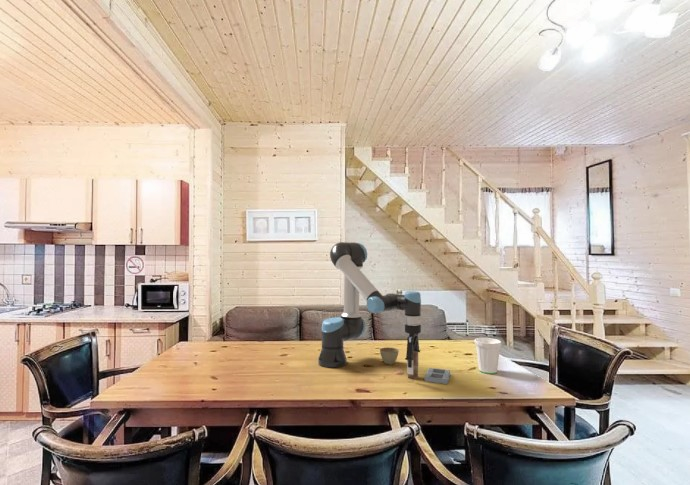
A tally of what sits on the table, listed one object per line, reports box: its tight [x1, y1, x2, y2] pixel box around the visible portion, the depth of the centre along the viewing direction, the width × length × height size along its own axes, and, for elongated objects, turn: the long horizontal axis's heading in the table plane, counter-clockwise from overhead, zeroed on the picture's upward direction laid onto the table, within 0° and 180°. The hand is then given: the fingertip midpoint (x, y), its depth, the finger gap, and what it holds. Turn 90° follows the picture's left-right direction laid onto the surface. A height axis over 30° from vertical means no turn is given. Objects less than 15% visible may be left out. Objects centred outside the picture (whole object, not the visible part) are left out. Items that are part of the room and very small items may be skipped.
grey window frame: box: [424, 367, 451, 385], centre depth 169 cm, size 10×14×2 cm
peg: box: [407, 351, 419, 380], centre depth 170 cm, size 4×4×12 cm
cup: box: [474, 337, 502, 375], centre depth 179 cm, size 12×12×15 cm
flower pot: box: [379, 346, 400, 365], centre depth 191 cm, size 10×10×7 cm
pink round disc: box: [393, 370, 404, 375], centre depth 176 cm, size 5×5×1 cm
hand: (413, 369), depth 170 cm, fingers open, 12 cm apart
